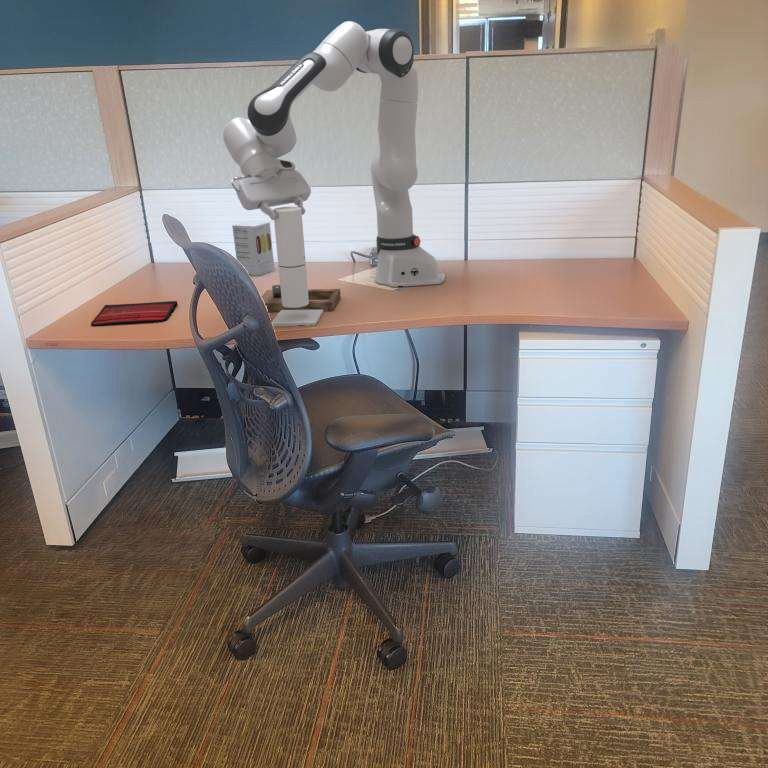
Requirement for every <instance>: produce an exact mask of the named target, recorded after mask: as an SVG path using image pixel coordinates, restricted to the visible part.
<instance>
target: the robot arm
mask: <svg viewBox="0 0 768 768" xmlns="http://www.w3.org/2000/svg"><path fill="white" fill-rule="evenodd" d="M414 55H415V51H414V45H413V40H412V39H411V37H410V35H409V34H408V33H407V32H406V31H405V30H402V29H397V28H376V29H373V30H368V31H366V30H365V29H364V28H363V27H362V25H360V24H359V23H357V22H355V21H352V20H348V21H344V22H341V24H339V25H338V26H337V27H335V28H334V29H333V30H332V31H331V32H330V33H329V34H328V35H327V36H325V38H324V39H322V41H321V43H320V44H319V45H318V46H317V47H316V48H315V49H314V50H313V51H311V52H308V53H306V54H304V55H303V56H302V57H301V58H299V59H298V60H297V61H296V62H295V63H294V64H293V65H292V66H290V68H289V69H288V70H286V72H284V73H283V75H281V76H280V77H279V78H278V80H276V81H275V82H274V83H273V84H271V86H269V87H268V88H266V89H264V90H262V91H261V92H259V93H257V94H256V95H255V96H253V98H252V99H251V100H250V102H249V104H248V105H247V110H246V111H247V118H243V117H241V116H237V117H235V118H233V119H231V120H230V121H228V123H226V125H225V127H224V129H223V131H222V132H223V133H222V138H223V142H224V145H225V148H226V150H227V151H228V153H229V154H230V157H231V158H232V160H233V162H234V163H236V165H238V166H239V168H240V171H241V174H242V176H234V177H233V178H232V179H231V181H230V184H231V187H232V188H233V189H234V191H235V193H236V196H237V198H238V200H239V203H240V204H241V207H242V208H244V209H245V210H247V211H253V210H260V211H261V212H262V213H263V214H266V216H268V217H269V218H270V219H271V221H274V220H276V219H278V217H279V214H278V213H277V211H276V210H273V209H272V208H271V207H277V206H283V205H289V204H294V205H295V206H296V207H300V208H301V211H302V216H303V215H305V213H306V209H305V207H304V203H303V202H306V201H307V200H308V199H309V197H310V195H311V194H312V193H311V192H312V190H311V186H310V185H309V184H308V182H307V180H306V179H305V177H304V176H303V175H302V173H300V171H298V170H296V165H295V163H294V162H293V161H290V160H289V161H288V160H283V159H280V157H282V156H284V155H287V154H289V153H290V152H292V150H293V149H294V148H295V145H296V144H297V134H296V130H295V128H294V127H295V126H294V123H293V121H292V118H291V108H292V105H293V104H294V103H295V101H296V100H297V99H298V98H299V97H300V96H301V95H303V93H304V92H305V91H307V90H308V88H309V87H311V86H312V85H313V86H314V87H316V88H318V89H319V90H321V91H325V92H336V91H338V89H340V88H341V87H343V86H344V85H345V84H346V82H348V80H349V79H350V78H351V76H352V75H353V74H354V72H355V71H358V72H360V73H363V74H368V73H369V74H376V75H377V74H378V75H379V78H380V82H381V85H380V91H379V92H380V93H379V106H378V119H377V120H378V122H377V132H378V140H379V141H378V142H379V143H378V145H379V153H378V154H376V156H375V157H374V158H373V159H372V160H371V164H370V172H371V174H370V175H371V181H372V188H373V195H374V197H373V198H374V201H375V203H374V204H375V209H376V221H377V223H376V227H377V236H376V239H375V240H376V242H375V245H376V253H377V266H376V272H375V277H374V281H375V282H376V283H378V284H381V285H385V286H389V287H393V288H398V286H403V287H414V286H428V285H440V284H442V283H443V282H444V281H445V280H446V275H445V273H444V272H443V271H441V270H439V267H438V263H437V260H436V258H435V257H434V256H433V255H432V254H430V253H429V252H428V251H426V250H425V249H424V248H422V247H421V239H420V237H419V235H416V234H414V227H413V226H414V225H413V221H414V220H413V207H412V204H411V199H410V192H409V190H410V189H411V188H412V187H413V186H414V185H415V184H416V182H417V179H418V176H419V174H418V168H417V147H416V125H417V124H416V123H417V122H416V121H417V112H418V111H417V109H418V100H419V99H418V96H419V82H418V80H419V79H418V71H417V68H416V66H415V65H414V64H413V63H414Z"/></svg>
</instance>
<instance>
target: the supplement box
mask: <svg viewBox="0 0 768 768" xmlns="http://www.w3.org/2000/svg"><path fill="white" fill-rule="evenodd" d="M231 228H232V235H233V241H234V244H233V245H234V251H235V258H236V259H237V260H238V261H239V262H240V263H241V264H242V265H243V266H244V267H245V269H246V270H247V271H248V273H249V274H250V275H249V276H253V277H259V276H263V275H265V274H268V273H271V272H273V270H274V271H276V270H275V261H274V252H273V251H274V250H273V241H272V231H271V223H270V221H257V220H247V221H245V222H241V223H236V224H233V225H232V227H231ZM237 260H236V261H237Z"/></svg>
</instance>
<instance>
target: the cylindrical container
mask: <svg viewBox="0 0 768 768" xmlns="http://www.w3.org/2000/svg"><path fill="white" fill-rule="evenodd" d="M272 210H276V211H277V213H278V214H279V217H278V219H276V220H273V222H274V223H273V224H274V232H275V233H274V234H275V243H276V254H277V265H278V274H279V275H278V276H279V285H280V287H281V298H282V306H284V307H288V308H297V307H303V306H306V305H308V304H309V301H310V299H308V289H309V288H308V287H309V286H308V275H307V274H308V273H307V265H306V264H307V263H306V262H307V261H306V252H305V251H306V250H305V240H304V239H305V238H304V237H305V236H304V226H303V224H304V223H303V215H302V211H301V208H300V207H298V206H282V207H276V208H273V209H272Z"/></svg>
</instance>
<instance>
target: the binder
mask: <svg viewBox="0 0 768 768" xmlns="http://www.w3.org/2000/svg"><path fill="white" fill-rule="evenodd" d="M178 306H179V303H178V301H177V300H169V301H156V302H155V301H154V302H152V301H151V302H141V303H121V304H119V303H118V304H105V305H104V306H103V307H102V309H101V310H100V311H99V312H98V314H97V315H96V316H95V317H94V319H92V321H90V325H91V327H104V326H117V325H118V326H119V325H130V324H131V325H132V324H145V323H147V324H148V323H151V324H157V323H159V322H160V323H164V322H167V321H168V320H169V319H170V317H171V316H172V315H173V314H174V312H175V311H174V309H175V307H178ZM172 310H173V311H172ZM172 313H173V314H172ZM160 323H159V324H160Z"/></svg>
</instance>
